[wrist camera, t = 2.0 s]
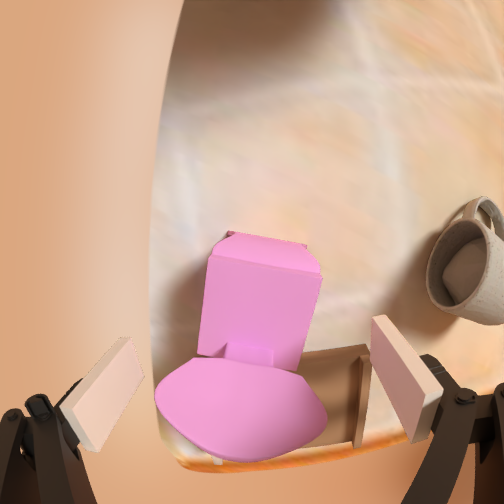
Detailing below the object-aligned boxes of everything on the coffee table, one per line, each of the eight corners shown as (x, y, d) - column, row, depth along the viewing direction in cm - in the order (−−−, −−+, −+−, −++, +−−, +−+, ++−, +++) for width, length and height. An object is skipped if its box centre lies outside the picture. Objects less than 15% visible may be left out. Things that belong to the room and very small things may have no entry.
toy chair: (320, 241, 23) (392, 335, 9) (296, 338, 25) (314, 483, 11) (216, 222, 23) (133, 290, 9) (203, 321, 25) (143, 455, 11)
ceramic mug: (469, 311, 24) (512, 345, 16) (413, 289, 24) (458, 326, 16) (505, 215, 21) (556, 228, 14) (454, 180, 21) (510, 182, 14)
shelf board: (193, 360, 26) (183, 384, 23) (365, 343, 25) (377, 366, 21) (217, 440, 29) (212, 464, 25) (357, 428, 28) (363, 452, 24)
